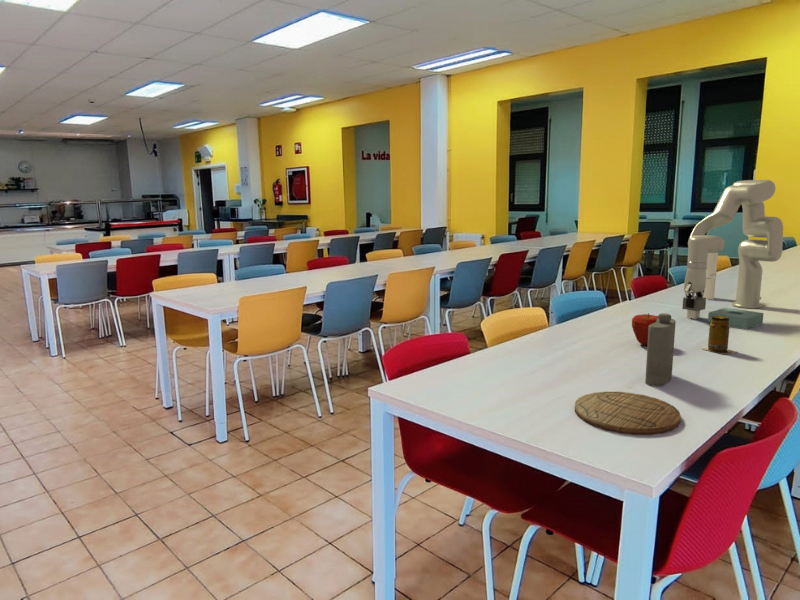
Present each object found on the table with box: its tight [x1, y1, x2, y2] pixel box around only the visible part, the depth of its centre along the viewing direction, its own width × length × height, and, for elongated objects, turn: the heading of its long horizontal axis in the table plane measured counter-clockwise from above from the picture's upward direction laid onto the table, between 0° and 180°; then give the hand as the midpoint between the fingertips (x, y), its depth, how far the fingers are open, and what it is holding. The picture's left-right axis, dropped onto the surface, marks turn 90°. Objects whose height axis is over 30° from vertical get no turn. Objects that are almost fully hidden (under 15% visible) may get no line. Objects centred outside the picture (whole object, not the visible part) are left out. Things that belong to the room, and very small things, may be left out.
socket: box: [707, 307, 764, 330], centre depth 235 cm, size 15×15×4 cm
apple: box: [631, 313, 658, 346], centre depth 205 cm, size 11×11×12 cm
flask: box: [644, 312, 677, 387], centre depth 167 cm, size 15×6×20 cm, turn 144°
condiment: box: [702, 316, 738, 355], centre depth 196 cm, size 7×8×12 cm
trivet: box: [574, 391, 682, 436], centre depth 143 cm, size 25×25×2 cm
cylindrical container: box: [703, 252, 719, 300], centre depth 286 cm, size 7×7×25 cm
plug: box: [682, 295, 707, 320], centre depth 245 cm, size 7×7×9 cm
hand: (694, 306), depth 245 cm, fingers closed on plug, 6 cm apart
